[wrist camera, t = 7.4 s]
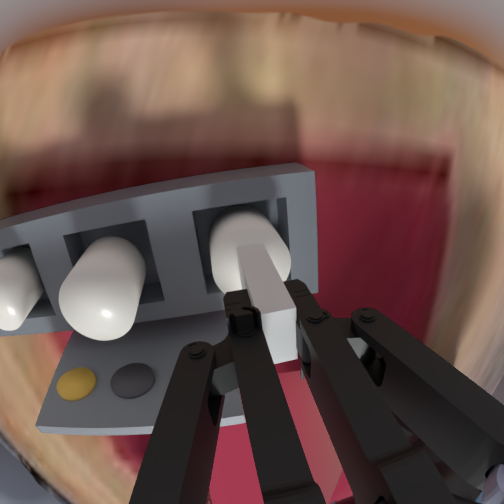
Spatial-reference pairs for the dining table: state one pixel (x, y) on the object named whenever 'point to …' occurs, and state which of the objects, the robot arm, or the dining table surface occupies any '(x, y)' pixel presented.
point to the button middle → (104, 289)
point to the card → (126, 378)
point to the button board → (165, 237)
